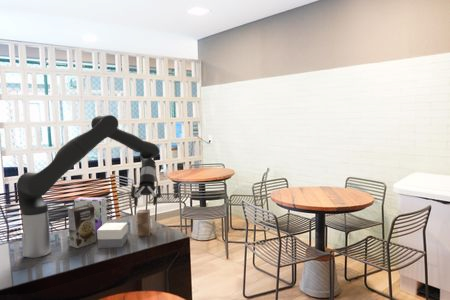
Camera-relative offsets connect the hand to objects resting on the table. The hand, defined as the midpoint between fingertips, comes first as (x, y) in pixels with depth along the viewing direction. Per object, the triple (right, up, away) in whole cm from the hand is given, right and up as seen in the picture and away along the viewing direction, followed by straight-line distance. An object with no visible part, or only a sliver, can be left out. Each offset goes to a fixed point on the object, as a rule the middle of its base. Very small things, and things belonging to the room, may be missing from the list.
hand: (145, 204), depth 171 cm
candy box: (-26, -13, -1) cm, 29 cm away
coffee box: (-23, -15, -17) cm, 32 cm away
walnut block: (+1, -13, -6) cm, 14 cm away
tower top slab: (-10, -11, -17) cm, 22 cm away
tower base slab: (-10, -15, -16) cm, 24 cm away
